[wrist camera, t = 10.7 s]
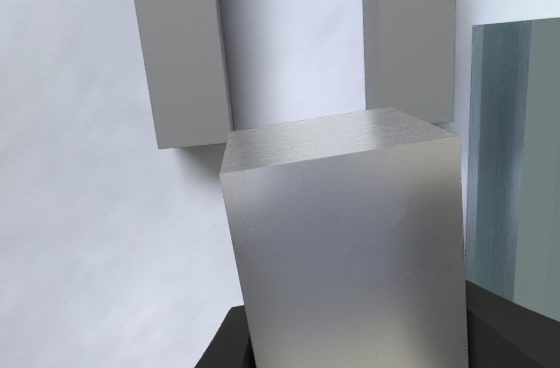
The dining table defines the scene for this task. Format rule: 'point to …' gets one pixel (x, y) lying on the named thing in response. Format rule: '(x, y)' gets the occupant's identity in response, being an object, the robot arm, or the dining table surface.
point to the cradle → (515, 163)
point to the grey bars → (214, 79)
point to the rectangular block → (349, 241)
